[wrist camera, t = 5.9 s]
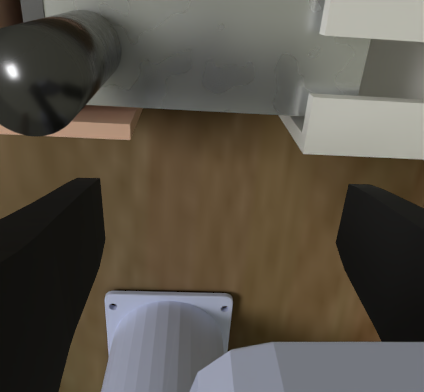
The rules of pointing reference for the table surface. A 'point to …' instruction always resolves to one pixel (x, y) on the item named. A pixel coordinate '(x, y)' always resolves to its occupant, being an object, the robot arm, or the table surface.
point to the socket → (91, 114)
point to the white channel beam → (371, 85)
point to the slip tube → (169, 58)
